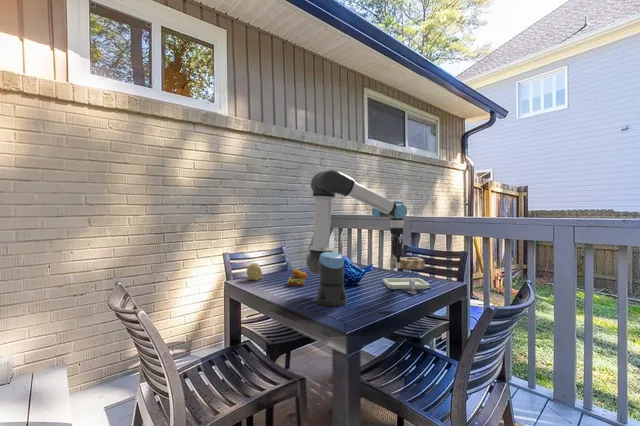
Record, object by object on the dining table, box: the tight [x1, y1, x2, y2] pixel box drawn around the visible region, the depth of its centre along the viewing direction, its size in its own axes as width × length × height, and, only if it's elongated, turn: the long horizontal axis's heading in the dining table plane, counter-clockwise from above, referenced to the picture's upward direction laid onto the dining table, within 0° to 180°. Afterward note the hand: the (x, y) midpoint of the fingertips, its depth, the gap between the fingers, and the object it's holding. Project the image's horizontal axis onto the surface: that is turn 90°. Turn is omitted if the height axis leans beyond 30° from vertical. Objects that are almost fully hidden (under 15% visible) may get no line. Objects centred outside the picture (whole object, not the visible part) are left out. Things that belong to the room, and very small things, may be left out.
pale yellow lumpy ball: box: [246, 262, 264, 281], centre depth 205 cm, size 10×12×11 cm
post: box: [406, 279, 418, 295], centre depth 175 cm, size 5×5×7 cm
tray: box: [382, 277, 432, 290], centre depth 191 cm, size 23×17×2 cm
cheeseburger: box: [287, 268, 308, 287], centre depth 194 cm, size 10×11×10 cm
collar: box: [389, 256, 426, 270], centre depth 191 cm, size 18×11×5 cm, turn 94°
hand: (396, 267), depth 190 cm, fingers closed on collar, 3 cm apart
